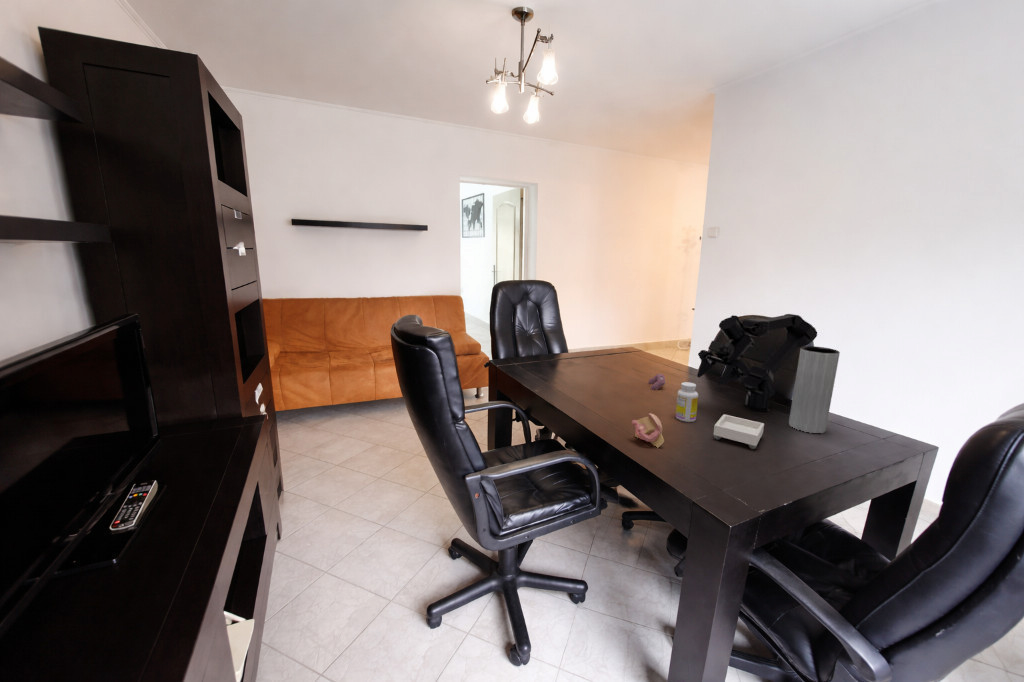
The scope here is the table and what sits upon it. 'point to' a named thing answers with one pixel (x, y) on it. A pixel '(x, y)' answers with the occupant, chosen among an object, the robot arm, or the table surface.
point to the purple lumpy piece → (657, 381)
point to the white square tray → (739, 430)
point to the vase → (813, 388)
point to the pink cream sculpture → (649, 429)
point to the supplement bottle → (687, 402)
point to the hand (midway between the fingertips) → (707, 380)
